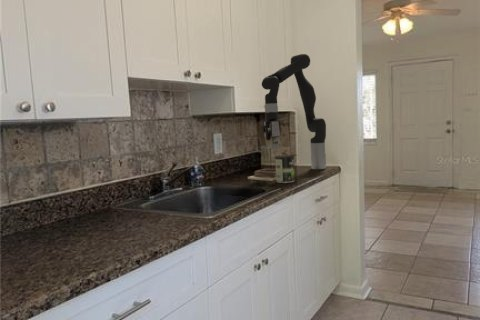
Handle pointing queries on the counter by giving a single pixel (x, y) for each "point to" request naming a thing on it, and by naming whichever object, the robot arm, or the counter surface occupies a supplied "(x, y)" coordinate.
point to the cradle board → (264, 175)
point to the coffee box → (273, 136)
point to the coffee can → (285, 169)
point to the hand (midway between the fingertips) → (272, 139)
